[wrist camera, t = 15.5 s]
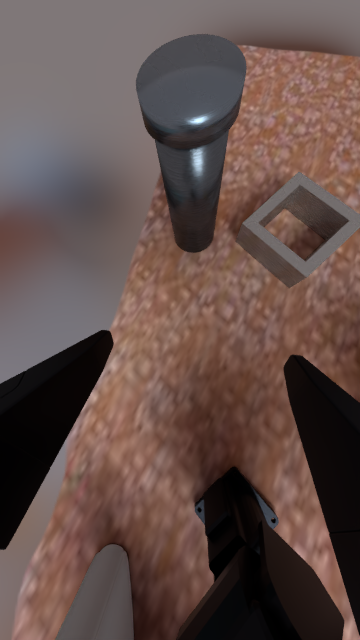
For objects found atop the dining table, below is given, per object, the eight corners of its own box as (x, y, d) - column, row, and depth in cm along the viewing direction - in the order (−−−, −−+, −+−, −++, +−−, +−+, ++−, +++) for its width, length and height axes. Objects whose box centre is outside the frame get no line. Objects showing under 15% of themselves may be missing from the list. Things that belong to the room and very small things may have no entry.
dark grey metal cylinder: (227, 234, 24) (271, 65, 10) (191, 264, 24) (183, 137, 9) (196, 206, 25) (194, 19, 11) (162, 234, 25) (115, 81, 11)
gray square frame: (341, 239, 22) (367, 219, 19) (289, 288, 22) (306, 277, 18) (284, 196, 24) (299, 171, 20) (235, 241, 24) (242, 223, 20)
